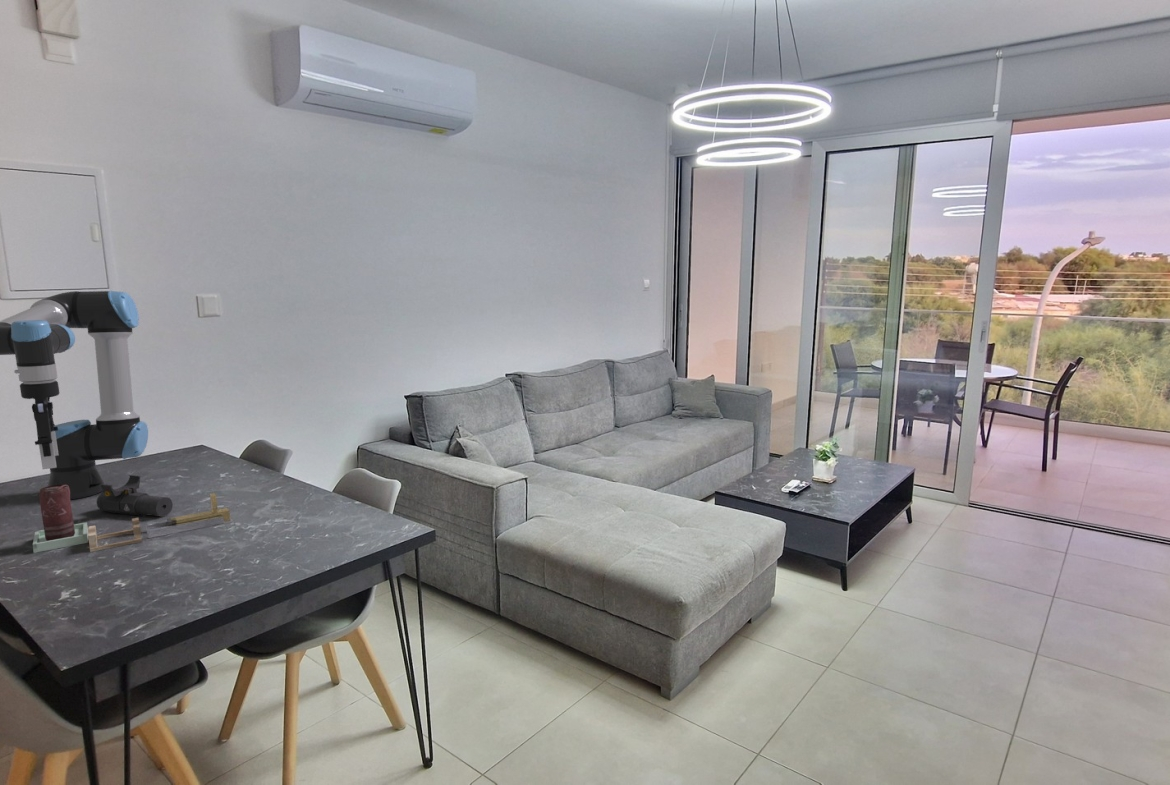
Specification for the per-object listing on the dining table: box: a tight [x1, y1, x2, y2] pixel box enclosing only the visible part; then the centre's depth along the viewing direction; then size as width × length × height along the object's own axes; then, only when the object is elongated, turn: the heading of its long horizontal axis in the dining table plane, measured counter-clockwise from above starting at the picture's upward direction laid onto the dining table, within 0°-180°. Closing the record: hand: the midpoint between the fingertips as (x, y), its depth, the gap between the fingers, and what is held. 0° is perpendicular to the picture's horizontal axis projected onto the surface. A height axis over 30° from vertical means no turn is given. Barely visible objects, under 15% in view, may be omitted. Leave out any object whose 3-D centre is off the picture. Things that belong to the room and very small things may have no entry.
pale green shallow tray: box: [32, 521, 89, 554], centre depth 173 cm, size 11×11×2 cm
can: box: [38, 485, 75, 541], centre depth 171 cm, size 6×6×14 cm
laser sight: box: [96, 474, 173, 517], centre depth 193 cm, size 10×22×10 cm, turn 76°
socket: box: [88, 517, 143, 553], centre depth 172 cm, size 10×11×4 cm
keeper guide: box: [145, 516, 225, 539], centre depth 182 cm, size 6×18×2 cm, turn 127°
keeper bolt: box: [166, 492, 231, 526], centre depth 184 cm, size 3×15×8 cm, turn 127°
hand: (50, 461), depth 169 cm, fingers open, 13 cm apart
